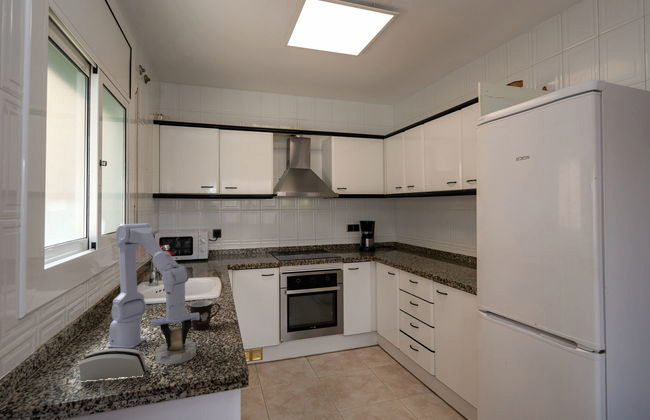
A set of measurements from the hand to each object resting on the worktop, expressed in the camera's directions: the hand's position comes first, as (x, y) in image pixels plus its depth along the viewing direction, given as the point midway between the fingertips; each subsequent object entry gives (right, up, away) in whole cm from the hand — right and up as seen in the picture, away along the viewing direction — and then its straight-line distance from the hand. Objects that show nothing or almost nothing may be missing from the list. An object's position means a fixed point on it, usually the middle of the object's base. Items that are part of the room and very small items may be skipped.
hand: (176, 344), depth 108 cm
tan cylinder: (0, -2, 0) cm, 2 cm away
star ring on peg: (0, -4, 0) cm, 4 cm away
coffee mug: (0, -4, +27) cm, 27 cm away
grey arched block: (-12, -4, -14) cm, 19 cm away
